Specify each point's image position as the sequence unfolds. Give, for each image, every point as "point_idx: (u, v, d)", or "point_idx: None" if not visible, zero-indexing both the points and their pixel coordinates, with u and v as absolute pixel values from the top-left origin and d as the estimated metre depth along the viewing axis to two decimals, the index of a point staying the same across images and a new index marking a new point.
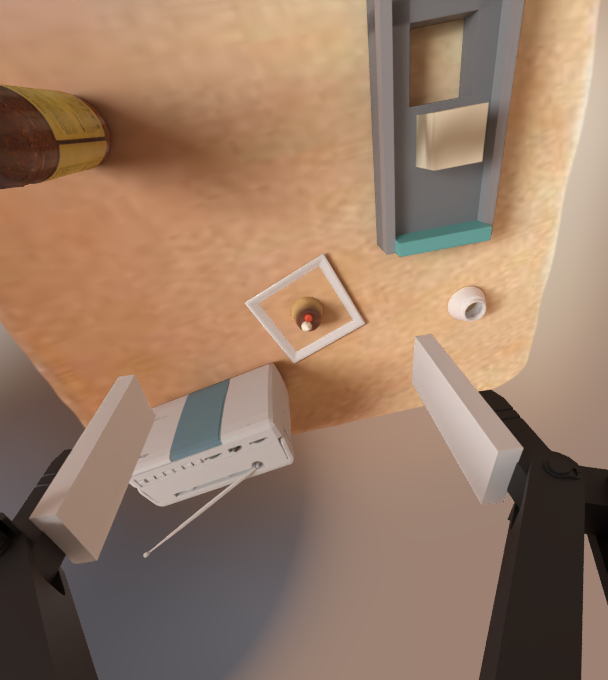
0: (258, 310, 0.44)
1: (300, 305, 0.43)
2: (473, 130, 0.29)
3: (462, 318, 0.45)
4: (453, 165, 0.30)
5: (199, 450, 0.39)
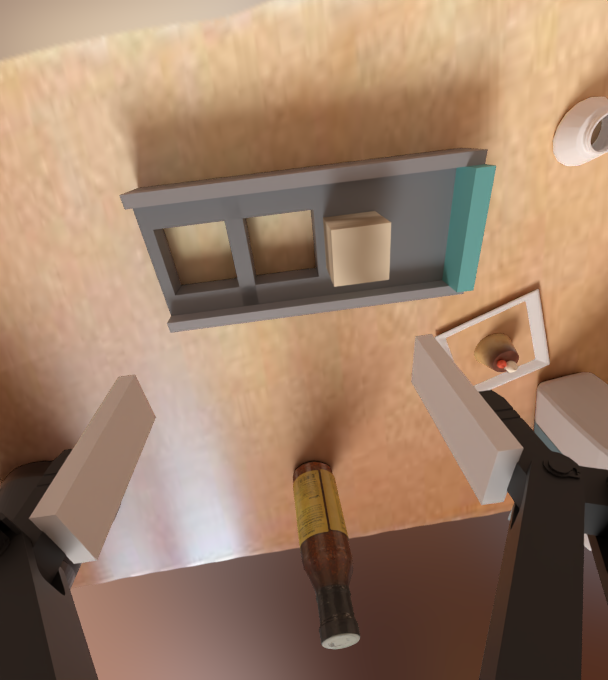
0: None
1: (482, 361, 0.40)
2: (356, 242, 0.25)
3: None
4: (388, 257, 0.26)
5: None
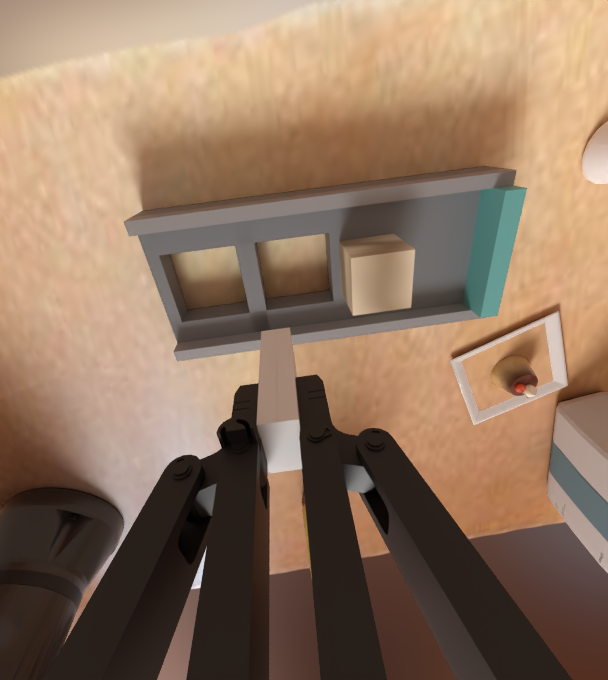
0: (486, 413, 0.42)
1: (499, 384, 0.38)
2: (377, 270, 0.23)
3: None
4: (410, 285, 0.24)
5: None
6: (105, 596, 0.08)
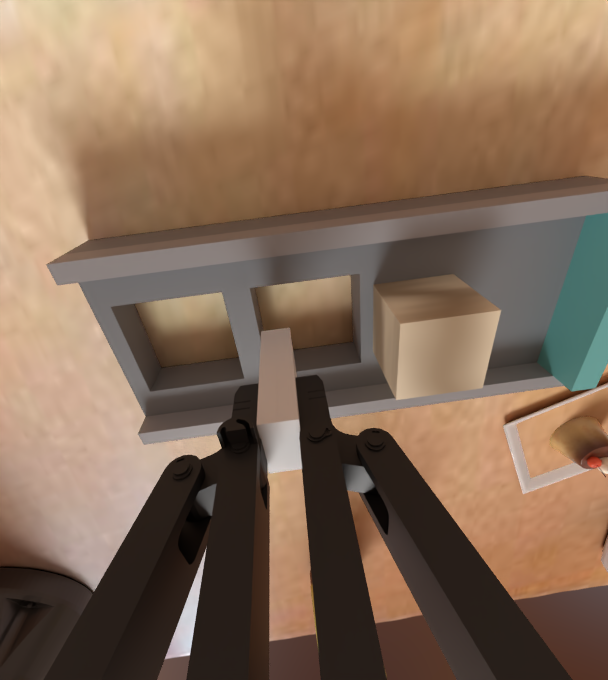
0: (539, 481, 0.34)
1: (563, 452, 0.30)
2: (439, 340, 0.15)
3: None
4: (486, 359, 0.16)
5: None
6: (105, 596, 0.08)
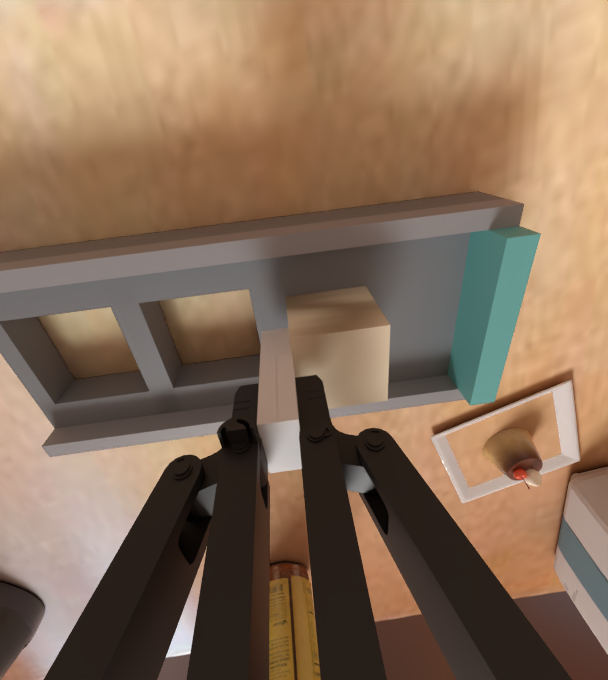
0: (478, 490, 0.34)
1: (493, 463, 0.30)
2: (333, 354, 0.15)
3: None
4: (386, 372, 0.16)
5: None
6: (105, 596, 0.08)
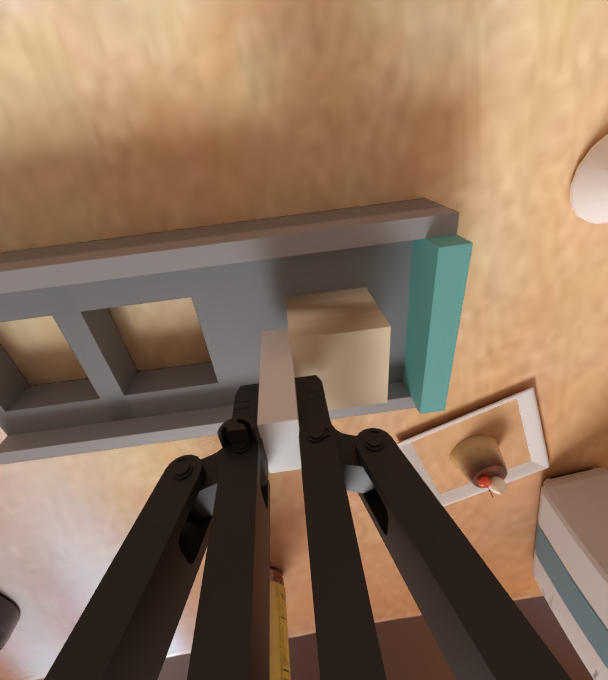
0: (448, 497, 0.34)
1: (460, 470, 0.30)
2: (333, 355, 0.15)
3: None
4: (385, 374, 0.16)
5: None
6: (106, 596, 0.08)
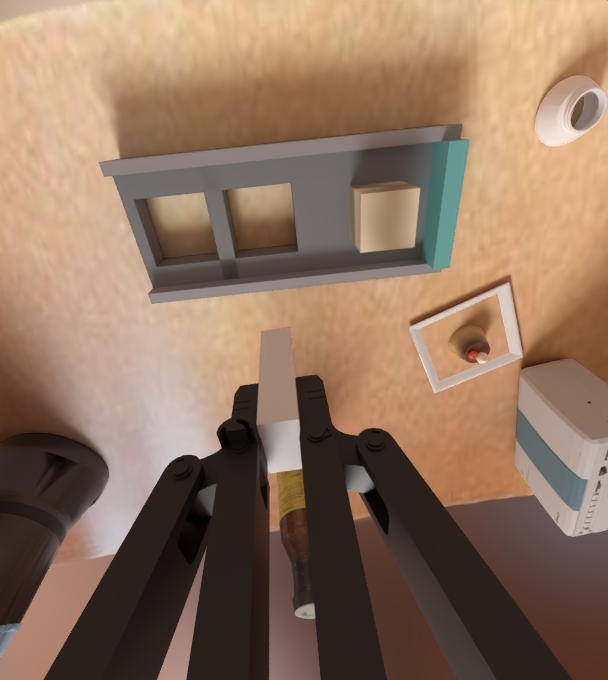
0: (446, 382, 0.45)
1: (455, 352, 0.41)
2: (384, 207, 0.25)
3: None
4: (415, 224, 0.26)
5: (581, 493, 0.38)
6: (105, 596, 0.08)
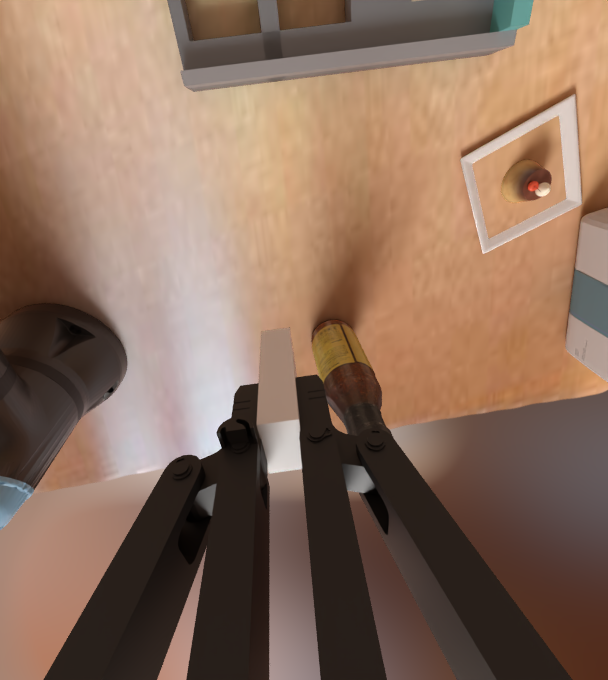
0: (496, 240, 0.41)
1: (510, 192, 0.37)
2: None
3: None
4: None
5: None
6: (105, 596, 0.08)
